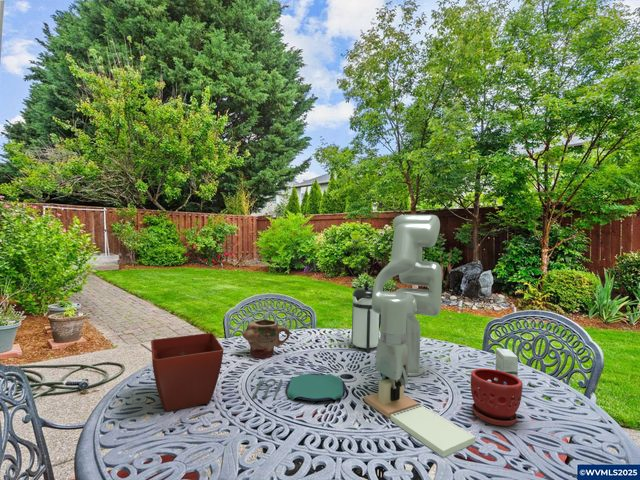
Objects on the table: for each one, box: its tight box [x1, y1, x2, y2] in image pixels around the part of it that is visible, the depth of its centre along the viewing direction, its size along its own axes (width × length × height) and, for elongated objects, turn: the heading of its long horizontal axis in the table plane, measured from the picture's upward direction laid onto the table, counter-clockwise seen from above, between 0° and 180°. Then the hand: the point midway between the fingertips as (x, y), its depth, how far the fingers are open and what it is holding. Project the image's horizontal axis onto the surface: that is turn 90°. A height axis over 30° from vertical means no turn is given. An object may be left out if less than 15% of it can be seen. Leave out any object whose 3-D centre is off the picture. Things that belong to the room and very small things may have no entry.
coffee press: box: [348, 282, 381, 354], centre depth 156 cm, size 17×16×30 cm
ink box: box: [494, 347, 519, 385], centre depth 118 cm, size 9×5×12 cm, turn 168°
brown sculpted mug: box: [242, 319, 291, 359], centre depth 143 cm, size 20×12×14 cm, turn 98°
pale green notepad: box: [389, 404, 477, 458], centre depth 89 cm, size 18×12×2 cm, turn 30°
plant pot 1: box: [150, 332, 224, 413], centre depth 103 cm, size 19×19×17 cm
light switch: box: [363, 378, 420, 419], centre depth 102 cm, size 11×12×7 cm
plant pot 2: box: [470, 368, 523, 427], centre depth 97 cm, size 13×13×12 cm
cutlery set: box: [251, 373, 347, 402], centre depth 111 cm, size 20×30×2 cm, turn 88°
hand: (391, 397), depth 102 cm, fingers closed on light switch, 2 cm apart
